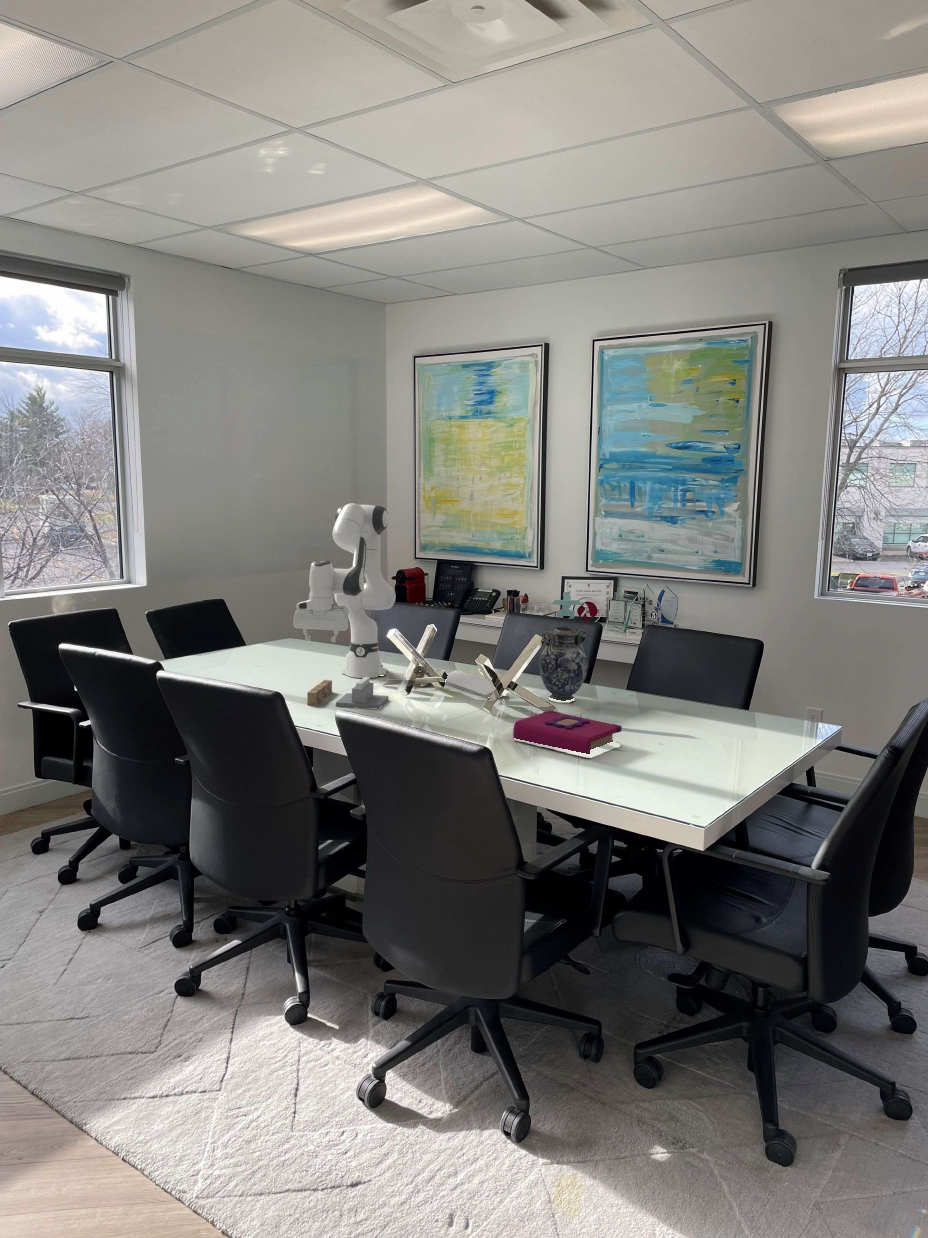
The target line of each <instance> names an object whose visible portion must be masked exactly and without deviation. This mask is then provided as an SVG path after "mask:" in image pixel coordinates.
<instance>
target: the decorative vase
mask: <svg viewBox="0 0 928 1238" xmlns="http://www.w3.org/2000/svg"><path fill="white" fill-rule="evenodd" d="M541 638H542V639H541V641H542V643H544V645H545V647H544V649H542V650H541V653H540V655H539V660H538V667H539V674H540V678H541V681H542V683H543V685H544V687H545V689H546V690H547V691H548V692H549V693H551V694H550V695H549V696H548V697H550V698H553V699H556V700H561V701H566V700H571V699H573V698H575V697H574V696H573V695H574V694H575V693H577V692H578V691H579V690H580V689H581V687H582V685H583V683H584V682H585V679H586V676H587V674H588V673H587V672H588V667H589V659H588V655H587V653H586V651H585V650H584V645H583V642H585V640H587V631H586V629H583V628H582V629H581V628H580V629H579V630H578V631H577V630H576V628H574V627H573V628H572V627H567V626H565V627H563V626H559V627H555V628H554V630H552V632H551V631H550V630H545V631H543V633H542V635H541Z"/></svg>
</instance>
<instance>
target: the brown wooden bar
mask: <svg viewBox="0 0 928 1238" xmlns="http://www.w3.org/2000/svg"><path fill="white" fill-rule="evenodd" d="M332 693H333V680H332V679H324V680H322V681H321V682H320V683H318V684H317V685H316V686H314V687H313V688H311V689H310V690H309V691H307V696H306V697H307V698H306V699H307V703H306V704H307V706H312V707H315V706H317V705H318V704H319V703H321V702H322V701H323V700H324V699H326V698H327V697H328V696H330V695H331V694H332Z"/></svg>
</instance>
